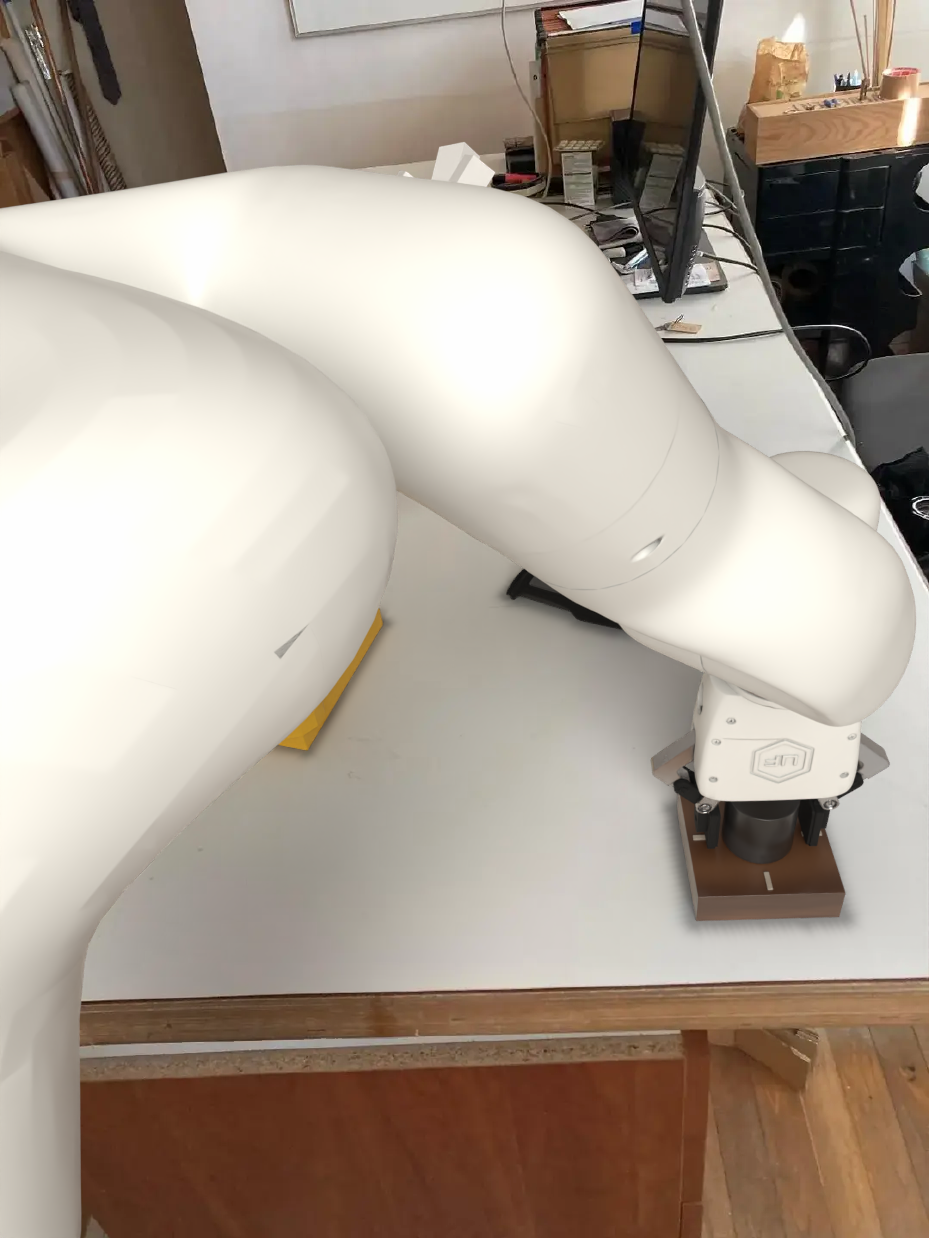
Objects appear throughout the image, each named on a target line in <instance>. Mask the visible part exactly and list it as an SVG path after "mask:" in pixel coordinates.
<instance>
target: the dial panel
mask: <svg viewBox="0 0 929 1238" xmlns="http://www.w3.org/2000/svg"><path fill="white" fill-rule="evenodd" d="M718 804H719V809H720V815H721V819H720V829H719V839H718V847H715V849H707V844H706V839H705V833H704V832H696V828H695V821H694V808H695V804H693V803H692V802H690V801H688V800H687V799H685V798H684V797H682V796H680V795H679V794H677V803H676V813H677V818H678V825H679V830H680V836H681V842H682V848H683V853H684V859H685V864H686V871H687V877H688V882H689V883H688V884H689V888H690V894H691V899H692V900H691V901H692V906H693V911H694V917H695V918H694V919H695V921H696V922H708V921H709V922H710V921H711V922H713V921H743V920H748V921H749V920H776V919H777V920H781V919H785V920H786V919H818V918H819V919H821V918H840V917H841V916H840V915H841V912H842V909H843V905H844V900H845V897H846V890H845V886H844V884H843V881H842V877H841V874H840V871H839V867H838V865H837V862H836V858H835V856H834V851H833V850H832V845H831V842H830V839H829V837H828V833H827V830H826V829H821V830H820V835H819V839H818V844H817V846H809V845H808V844H806V843H805V840H804V836H803V833H802V829H801V826H800V822H799V819H798V817H797V822H796V828H795V833H794V838H793V843H792V847H791V850H790V851H789V853H788V854H787V855H786V856H785V857H784V858H782V859H780V860H779V861H776V862H773V863H768V864H757V863H751V862H748V861H745V860H743V859H741V858H739V857H737V856H736V855H735V854H733V853H732V852H731V851H730V850H729V849H728V847H727V846H726V844H725V843H724V840H723V837H722V823H723V814H724V805H725V801H720V802H719V803H718Z"/></svg>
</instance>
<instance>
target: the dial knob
mask: <svg viewBox="0 0 929 1238" xmlns="http://www.w3.org/2000/svg"><path fill="white" fill-rule="evenodd" d="M800 801H801V799H796V800H767V801H725V805H724V814H723V823H722V837H723V840H724V843H725V844H726V846H727V847H728V849H729V850H730V851H731V852H732V853H733V854H735V855H736V856H737V857H739V858H741V859H743V860H745V861H748V862H751V863H757V864H768V863H773V862H776V861H779V860H780V859H782V858H784V857H785V856H786V855H787V854H788V853H789V851H790V850H791V847H792V843H793V838H794V833H795V828H796V822H797V817H798V812H799V806H800Z"/></svg>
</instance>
